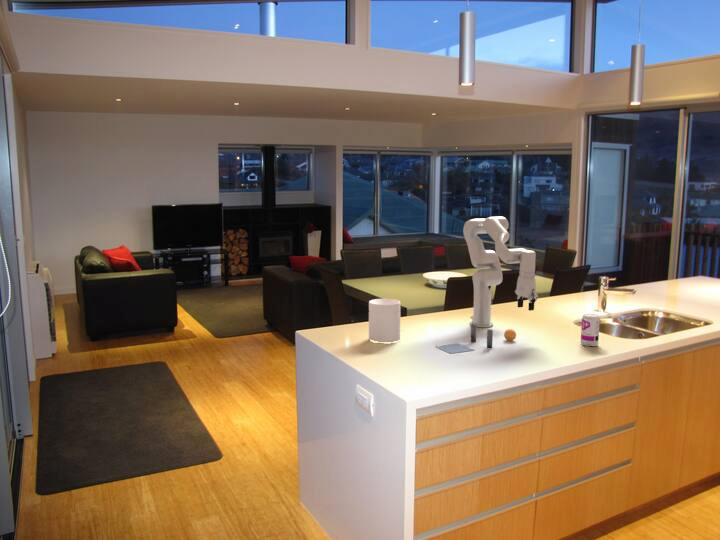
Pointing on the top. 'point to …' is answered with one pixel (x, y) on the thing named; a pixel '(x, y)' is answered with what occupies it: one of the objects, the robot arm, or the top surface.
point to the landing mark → (454, 348)
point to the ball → (510, 334)
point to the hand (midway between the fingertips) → (525, 308)
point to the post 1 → (473, 332)
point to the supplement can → (590, 330)
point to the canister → (384, 320)
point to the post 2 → (489, 338)
